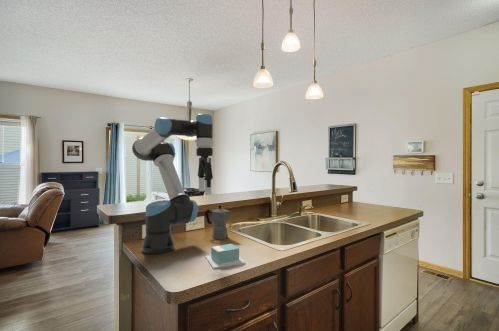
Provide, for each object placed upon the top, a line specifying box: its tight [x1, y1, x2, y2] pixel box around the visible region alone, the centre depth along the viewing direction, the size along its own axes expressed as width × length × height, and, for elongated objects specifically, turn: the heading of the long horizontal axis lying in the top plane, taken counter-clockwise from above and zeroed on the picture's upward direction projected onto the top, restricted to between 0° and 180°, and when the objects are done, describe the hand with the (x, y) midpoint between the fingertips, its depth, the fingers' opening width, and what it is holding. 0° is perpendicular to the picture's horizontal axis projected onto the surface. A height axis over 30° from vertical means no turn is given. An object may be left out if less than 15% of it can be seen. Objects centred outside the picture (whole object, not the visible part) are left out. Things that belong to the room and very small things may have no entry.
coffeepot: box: [204, 205, 232, 240], centre depth 153 cm, size 15×9×18 cm, turn 82°
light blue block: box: [210, 243, 240, 264], centre depth 117 cm, size 10×8×5 cm
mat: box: [205, 254, 246, 270], centre depth 117 cm, size 14×14×1 cm
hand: (204, 192), depth 125 cm, fingers open, 13 cm apart
